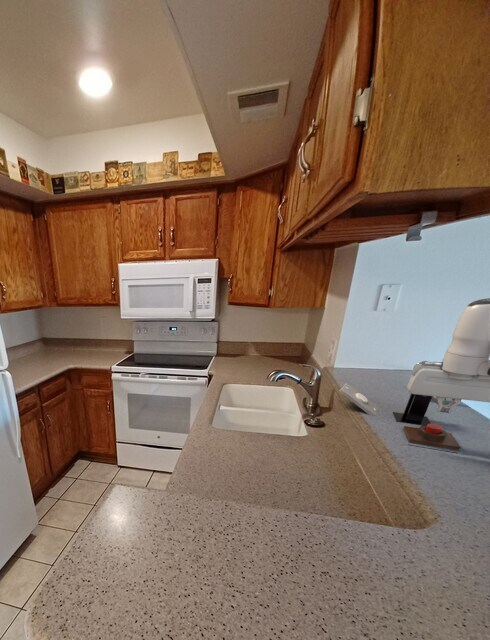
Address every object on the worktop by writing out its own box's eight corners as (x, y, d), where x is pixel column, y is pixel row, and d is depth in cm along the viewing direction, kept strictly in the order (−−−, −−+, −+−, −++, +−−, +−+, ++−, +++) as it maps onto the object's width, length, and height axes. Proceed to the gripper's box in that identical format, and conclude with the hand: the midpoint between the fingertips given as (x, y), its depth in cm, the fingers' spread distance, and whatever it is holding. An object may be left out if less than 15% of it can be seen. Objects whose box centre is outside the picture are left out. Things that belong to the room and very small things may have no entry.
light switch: (378, 414, 111) (343, 387, 115) (364, 425, 115) (330, 399, 119) (382, 406, 117) (348, 380, 121) (369, 417, 121) (336, 392, 125)
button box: (448, 439, 100) (453, 427, 98) (457, 453, 92) (463, 441, 90) (401, 432, 104) (406, 420, 102) (407, 445, 97) (412, 433, 95)
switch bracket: (425, 419, 111) (440, 384, 105) (431, 429, 105) (447, 392, 99) (391, 414, 115) (404, 380, 109) (395, 424, 109) (408, 387, 102)
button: (438, 430, 97) (440, 424, 96) (441, 435, 94) (444, 430, 93) (423, 427, 98) (426, 422, 98) (426, 433, 96) (429, 427, 95)
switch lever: (442, 409, 107) (449, 404, 105) (446, 415, 103) (454, 409, 101) (414, 388, 108) (420, 383, 106) (417, 394, 104) (424, 388, 102)
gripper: (418, 363, 88) (402, 410, 94) (518, 371, 80) (492, 421, 87) (413, 357, 93) (398, 402, 99) (506, 364, 85) (483, 412, 92)
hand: (442, 411), depth 93 cm, fingers closed
